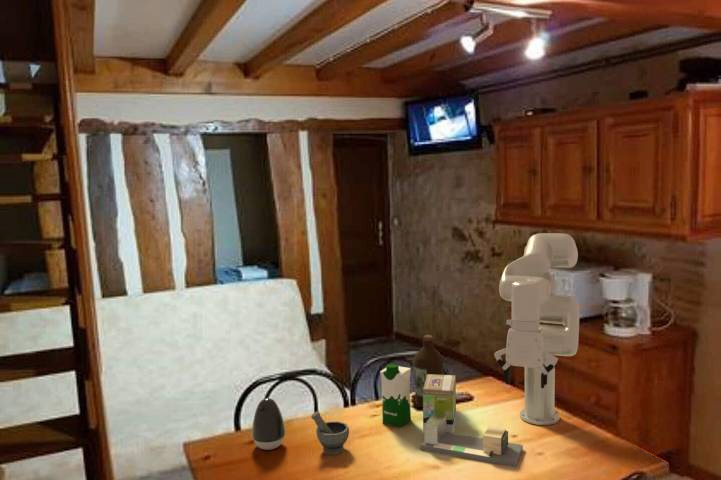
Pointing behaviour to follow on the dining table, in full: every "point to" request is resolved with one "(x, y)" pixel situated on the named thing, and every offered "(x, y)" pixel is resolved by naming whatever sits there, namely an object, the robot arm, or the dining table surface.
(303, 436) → the dining table surface
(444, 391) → the tea box
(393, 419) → the milk carton
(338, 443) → the mortar and pestle
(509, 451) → the base
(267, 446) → the aroma diffuser
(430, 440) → the light grey block
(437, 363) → the olive oil
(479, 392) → the dining table surface
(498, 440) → the block
